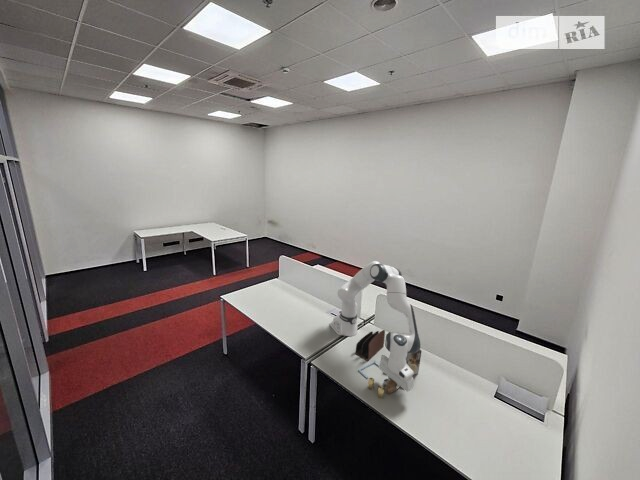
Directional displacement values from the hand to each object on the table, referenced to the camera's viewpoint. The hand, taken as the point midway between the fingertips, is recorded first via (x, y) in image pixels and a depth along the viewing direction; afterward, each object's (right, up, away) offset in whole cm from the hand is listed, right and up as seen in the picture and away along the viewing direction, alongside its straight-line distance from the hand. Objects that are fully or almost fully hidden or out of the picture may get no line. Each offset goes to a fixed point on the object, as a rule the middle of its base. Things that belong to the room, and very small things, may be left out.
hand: (393, 385), depth 144 cm
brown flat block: (0, -2, 0) cm, 2 cm away
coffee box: (+13, +1, +14) cm, 19 cm away
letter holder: (-7, +6, +32) cm, 33 cm away
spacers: (-3, -1, +4) cm, 5 cm away
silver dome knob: (-2, -2, +4) cm, 5 cm away
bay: (-10, +2, +14) cm, 17 cm away
